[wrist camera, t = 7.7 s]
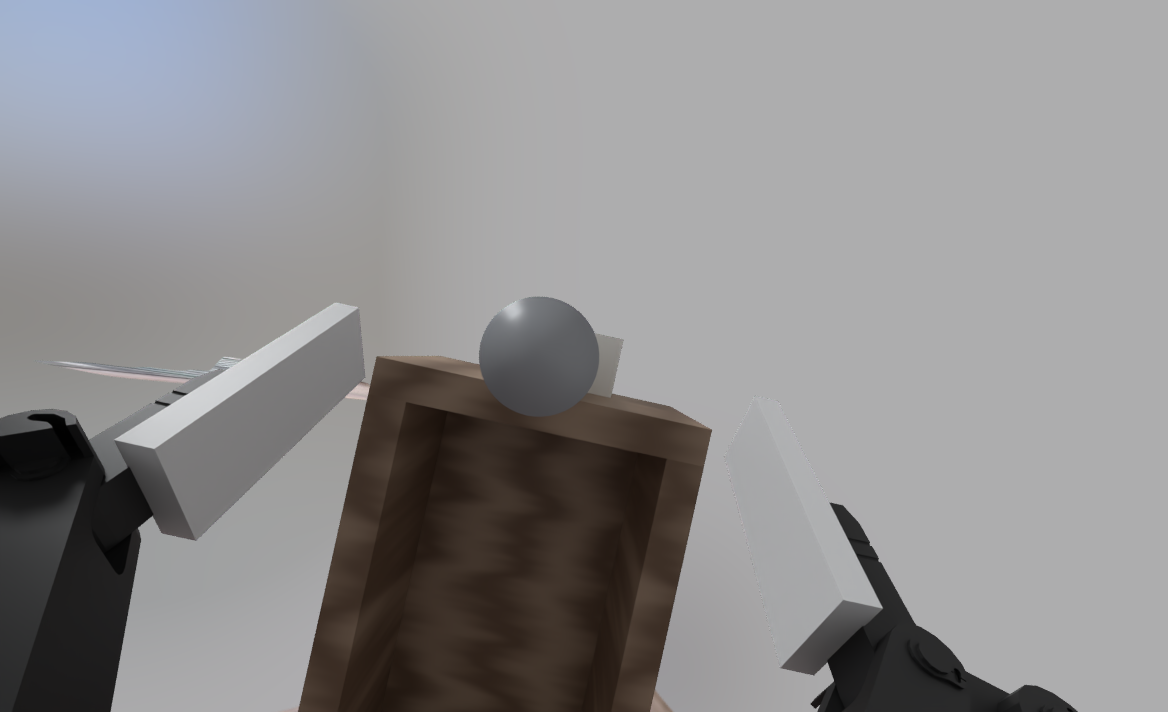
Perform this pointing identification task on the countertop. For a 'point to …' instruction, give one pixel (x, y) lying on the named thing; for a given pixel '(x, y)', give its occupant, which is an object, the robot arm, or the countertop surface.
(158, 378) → the countertop surface
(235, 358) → the countertop surface
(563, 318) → the knob
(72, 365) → the countertop surface
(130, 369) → the countertop surface
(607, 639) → the open wooden box
